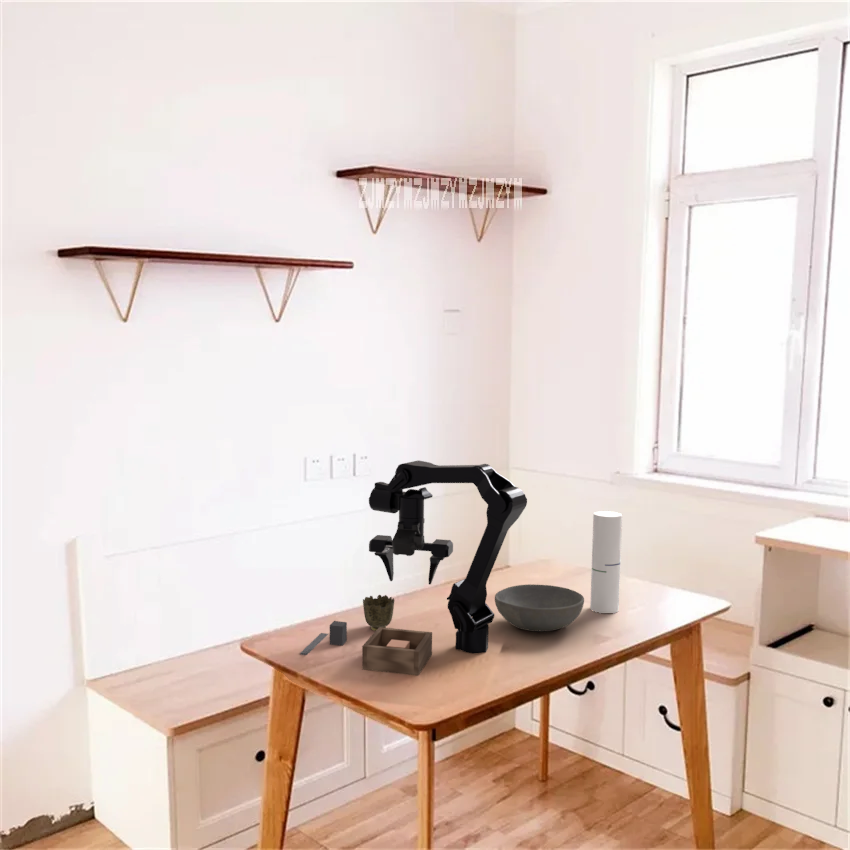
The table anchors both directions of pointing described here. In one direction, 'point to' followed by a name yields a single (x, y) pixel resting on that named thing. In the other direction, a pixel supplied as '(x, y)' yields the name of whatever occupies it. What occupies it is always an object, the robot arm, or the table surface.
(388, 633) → the walnut box
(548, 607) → the bowl
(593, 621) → the table surface
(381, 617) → the cup
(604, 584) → the cylindrical container
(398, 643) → the terracotta cube
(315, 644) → the lid
